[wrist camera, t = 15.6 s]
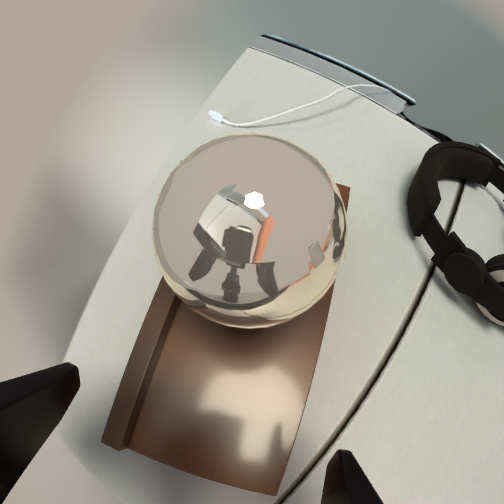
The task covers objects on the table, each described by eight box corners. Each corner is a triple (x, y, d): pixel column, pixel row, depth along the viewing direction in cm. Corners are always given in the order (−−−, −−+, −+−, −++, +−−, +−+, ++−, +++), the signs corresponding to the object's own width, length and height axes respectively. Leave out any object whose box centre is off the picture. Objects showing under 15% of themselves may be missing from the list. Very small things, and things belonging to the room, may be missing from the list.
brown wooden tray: (269, 481, 17) (279, 504, 12) (131, 435, 18) (100, 441, 13) (337, 215, 27) (355, 174, 22) (228, 185, 28) (226, 141, 23)
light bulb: (324, 319, 19) (423, 202, 8) (226, 383, 17) (204, 346, 6) (260, 234, 21) (280, 74, 11) (167, 286, 19) (98, 143, 9)
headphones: (553, 341, 13) (387, 151, 23) (493, 372, 20) (364, 213, 29) (588, 239, 18) (474, 117, 28) (551, 275, 25) (452, 164, 34)
